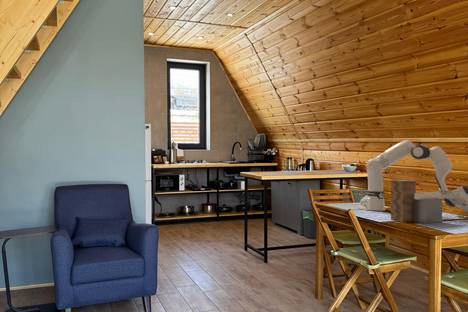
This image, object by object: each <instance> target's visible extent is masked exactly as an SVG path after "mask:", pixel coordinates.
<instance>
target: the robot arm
mask: <svg viewBox="0 0 468 312" xmlns="http://www.w3.org/2000/svg"><path fill="white" fill-rule="evenodd" d="M409 155H411V157H412V158H413V159H416V160H418V161H423V160H426V159H427V160H429V161H430V162H431V164H432V165H433V167H434V169H435V173H434V179H435V180H436V184H437V185H438V186H437V187H438V191H437V192H441V198H442V199H443V201H444V203H445V204H446V205H447V206H448V207H450V208H455V207H458V208H460V209H461V210H462V211H464V212H465V213H468V186H466V185H461V186H459V187H457V188H455V189H454V190H453V189H452V190H449V188H448V186H447V183H446V181H445V180H446V177H447V175H448V174H449V173H450V172H451V171H452V169H453V163H452V160H451V158H449V156H448V154H447V153H446V151H444V150H443V149H442V148H441V147H440V146H437V145H436V146H432V147H431V148H430V147H428V146H426V144H414V143H413V142H412V141H411V140H409V139H405V140H402V141H400V142H398V143H396V144H394V145H392V146H391V147H390V148H388V149H386V150H385V151H384V152H382V153H380V154H379V155H377V156H375V157H374V158H370V159H369V160H367V162H366V164H365V166H366V167H365V168H366V174H367V175H366V176H367V191H365V194H366V195H365V196H363V197H362V198H361V199H360V200H359V205H357V206H356V209H360V210H365V211H380V212H381V211H386V206H385V198H384V197H385V192H384V178H383V171H384V170H385V169H387V168H389V167H390V166H392V165H393V164H395V163H397V162H398V161H400V160H402V159H404V158H405V157H407V156H409Z"/></svg>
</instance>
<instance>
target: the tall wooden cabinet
mask: <svg viewBox="0 0 468 312" xmlns="http://www.w3.org/2000/svg"><path fill="white" fill-rule="evenodd" d="M389 181H390V190H391V191H390V220H391V221H396V222H401V223H406V222H407V221H408V222H413V198H414V193H417V191H416V189H417V187H416V185H417V183H416V182H417V180H414V179H390V180H389ZM408 222H407V223H408Z"/></svg>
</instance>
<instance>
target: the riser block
mask: <svg viewBox="0 0 468 312" xmlns="http://www.w3.org/2000/svg"><path fill="white" fill-rule="evenodd" d="M413 221H414V222H413ZM413 221H412V222H413V223H419V224H424V225H428V224H429V225H430V224H439V223H443V198H442V197H441V198H433V199H420V200H418V199H414V198H413Z"/></svg>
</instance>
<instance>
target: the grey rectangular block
mask: <svg viewBox="0 0 468 312" xmlns="http://www.w3.org/2000/svg"><path fill="white" fill-rule="evenodd" d="M433 198H441V199H442V197H441V192H438V191H431V192H429V191H427V192H416V193H414V199H418V200H420V199H433Z"/></svg>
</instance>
